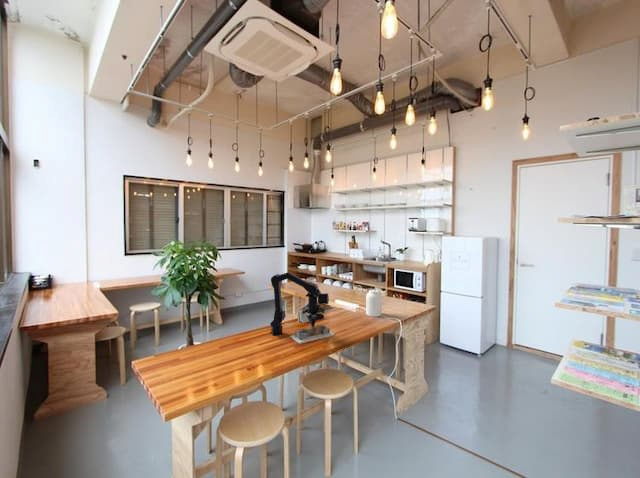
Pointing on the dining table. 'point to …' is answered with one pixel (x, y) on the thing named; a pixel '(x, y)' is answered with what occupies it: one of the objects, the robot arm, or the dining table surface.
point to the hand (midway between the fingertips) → (312, 326)
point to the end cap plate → (303, 337)
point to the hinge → (302, 317)
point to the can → (374, 303)
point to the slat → (313, 330)
